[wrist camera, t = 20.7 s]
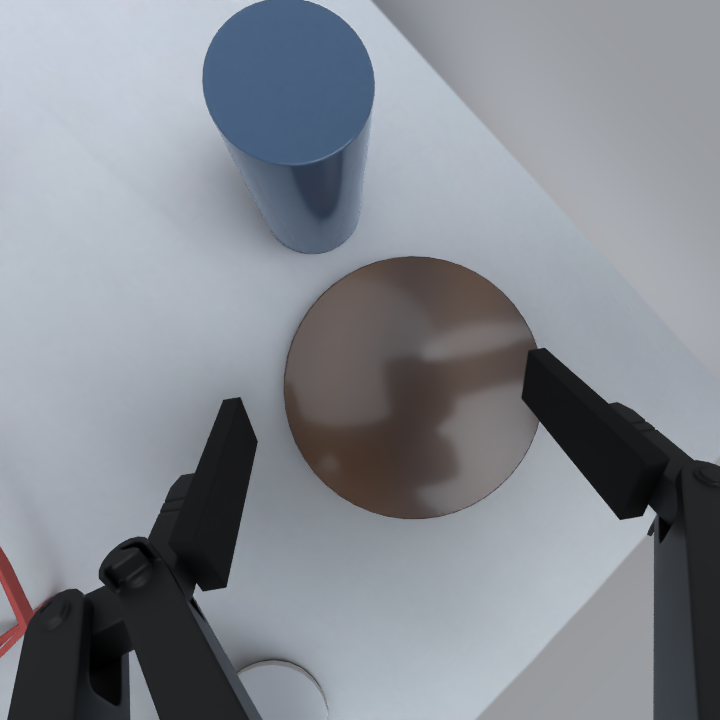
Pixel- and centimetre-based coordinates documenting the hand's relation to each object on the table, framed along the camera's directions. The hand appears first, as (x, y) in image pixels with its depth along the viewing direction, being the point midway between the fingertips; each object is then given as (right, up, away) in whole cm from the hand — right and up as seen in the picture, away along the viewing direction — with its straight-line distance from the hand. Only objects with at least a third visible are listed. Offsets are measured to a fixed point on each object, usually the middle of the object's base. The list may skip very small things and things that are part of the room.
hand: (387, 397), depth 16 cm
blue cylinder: (-5, +13, +9) cm, 16 cm away
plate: (+3, 0, +9) cm, 9 cm away
